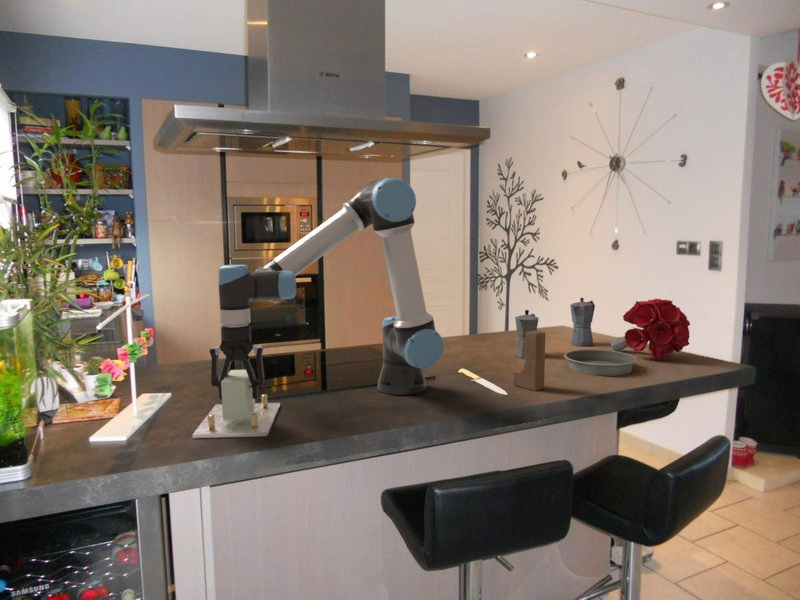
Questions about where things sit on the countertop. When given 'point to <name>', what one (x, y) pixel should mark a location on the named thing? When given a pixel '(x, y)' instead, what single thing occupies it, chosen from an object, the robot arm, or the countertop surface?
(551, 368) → the countertop surface
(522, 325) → the coffeepot
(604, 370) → the cake pan
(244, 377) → the pale green rectangular block
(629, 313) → the bouquet
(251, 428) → the chassis plate
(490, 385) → the knife
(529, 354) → the wooden block
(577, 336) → the moka pot
